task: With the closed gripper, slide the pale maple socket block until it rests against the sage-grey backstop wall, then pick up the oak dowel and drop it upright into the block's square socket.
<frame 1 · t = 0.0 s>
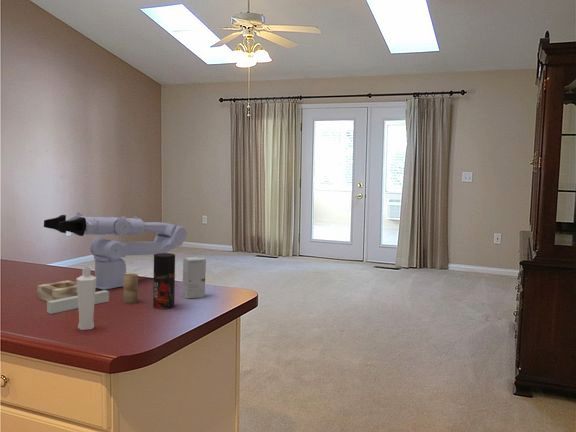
hand: (51, 224, 153), 22 cm above the table, tool horizontal, fingers open, 7 cm apart
deodorant: (163, 307, 149), on the table
oak dowel: (130, 301, 153), on the table
socket block: (62, 291, 154), point 2 cm above the table, slide at 0.0 cm
skincare box: (193, 297, 162), on the table
white pump bottle: (85, 328, 128), on the table
backstop wall: (79, 306, 146), on the table
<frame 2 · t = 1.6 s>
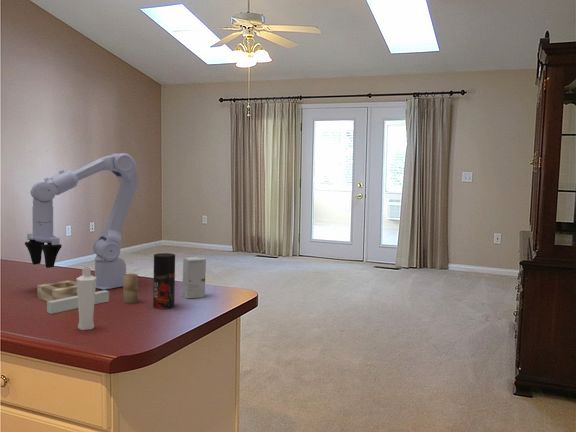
hand: (43, 265, 159), 8 cm above the table, tool pointing down, fingers open, 7 cm apart
nothing on the table moved.
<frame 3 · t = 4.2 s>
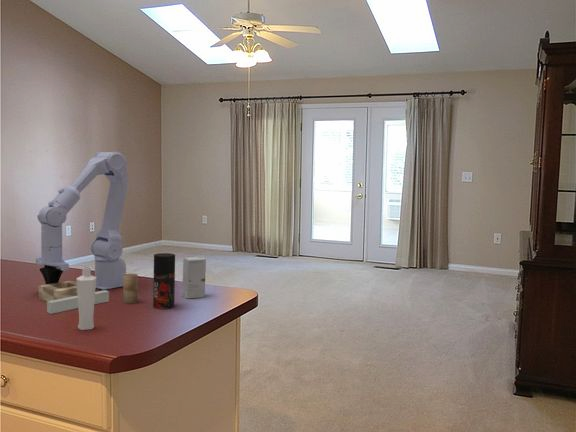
hand: (52, 290, 157), 1 cm above the table, tool pointing down, fingers closed
socket block: (64, 292, 153), point 2 cm above the table, slide at 0.7 cm, touching gripper
everything else where it was.
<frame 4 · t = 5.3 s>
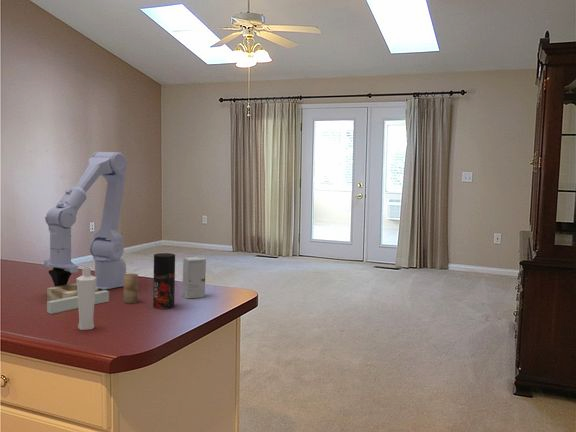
hand: (60, 293, 154), 1 cm above the table, tool pointing down, fingers closed
socket block: (72, 294, 151), point 2 cm above the table, slide at 5.1 cm, touching gripper
everything else where it was.
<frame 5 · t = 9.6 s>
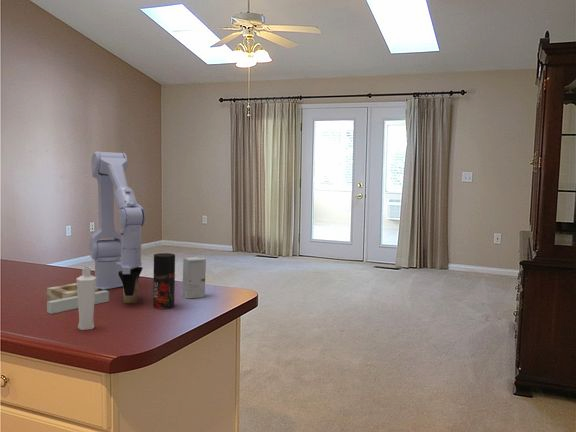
hand: (130, 293, 153), 2 cm above the table, tool pointing down, fingers closed on oak dowel, 4 cm apart
oak dowel: (130, 301, 153), on the table, touching gripper
socket block: (72, 294, 151), point 2 cm above the table, slide at 5.0 cm
everything else where it was.
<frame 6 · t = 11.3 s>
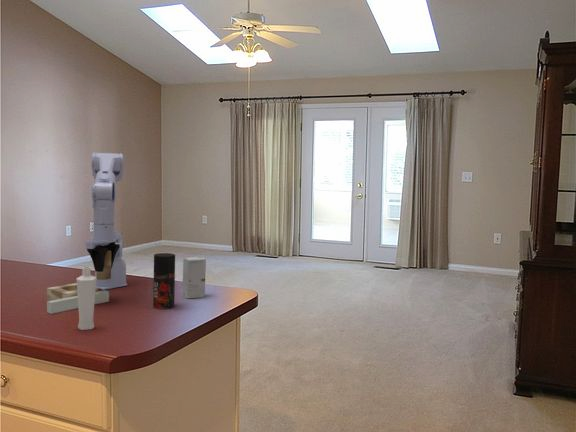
hand: (103, 270, 151), 9 cm above the table, tool pointing down, fingers closed on oak dowel, 4 cm apart
oak dowel: (103, 278, 152), point 7 cm above the table, touching gripper
everything else where it was.
when the fingers open (5 cm above the table, at t = 13.3 s): oak dowel drops 1 cm, resting on socket block.
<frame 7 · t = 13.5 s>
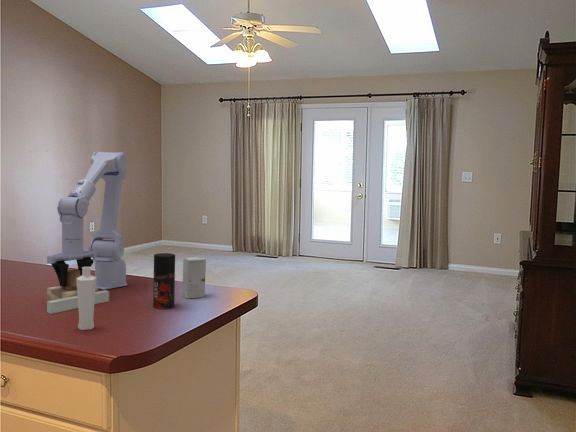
hand: (72, 284, 151), 5 cm above the table, tool pointing down, fingers open, 5 cm apart
oak dowel: (73, 298, 151), point 1 cm above the table, touching socket block
socket block: (72, 294, 151), point 2 cm above the table, slide at 5.0 cm, touching oak dowel
everything else where it was.
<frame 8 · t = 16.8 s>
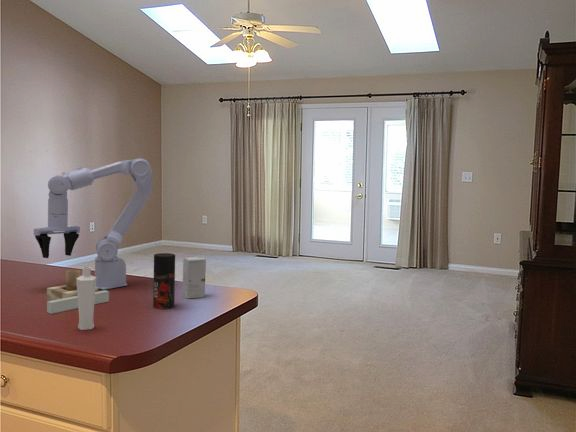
hand: (57, 256, 164), 10 cm above the table, tool pointing down, fingers open, 7 cm apart
nothing on the table moved.
at the end: socket block slide at 5.0 cm; oak dowel 0.2 cm from the target spot, point 1.0 cm above the table; oak dowel tilted 1° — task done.
